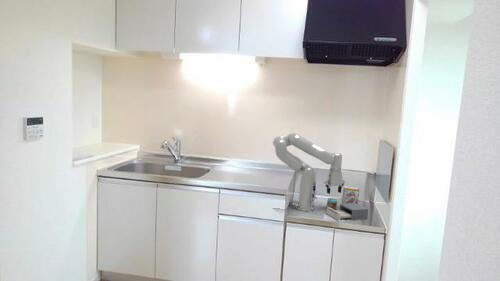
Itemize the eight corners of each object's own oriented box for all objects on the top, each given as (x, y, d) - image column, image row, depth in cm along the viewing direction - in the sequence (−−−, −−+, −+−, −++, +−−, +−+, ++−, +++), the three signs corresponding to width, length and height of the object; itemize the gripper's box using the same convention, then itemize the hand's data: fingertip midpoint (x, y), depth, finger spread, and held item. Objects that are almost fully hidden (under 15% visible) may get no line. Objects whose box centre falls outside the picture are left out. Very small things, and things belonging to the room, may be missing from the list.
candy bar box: (341, 208, 244) (343, 187, 243) (341, 206, 249) (343, 185, 248) (357, 211, 242) (359, 189, 240) (356, 209, 247) (358, 187, 245)
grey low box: (351, 220, 221) (353, 210, 220) (339, 213, 234) (340, 203, 233) (367, 218, 226) (368, 208, 225) (353, 212, 239) (354, 202, 238)
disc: (330, 203, 236) (330, 201, 236) (325, 200, 243) (326, 198, 243) (338, 202, 238) (339, 200, 238) (333, 200, 245) (334, 198, 245)
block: (330, 210, 238) (331, 202, 237) (326, 208, 243) (327, 200, 242) (336, 210, 240) (337, 202, 239) (332, 208, 245) (333, 200, 244)
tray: (338, 220, 217) (339, 213, 216) (326, 213, 230) (327, 206, 229) (354, 219, 222) (355, 212, 222) (342, 212, 235) (342, 205, 234)
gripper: (328, 171, 231) (327, 195, 233) (348, 170, 238) (346, 193, 240) (322, 169, 238) (321, 192, 240) (342, 168, 245) (340, 190, 247)
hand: (334, 192), depth 240 cm, fingers open, 9 cm apart
